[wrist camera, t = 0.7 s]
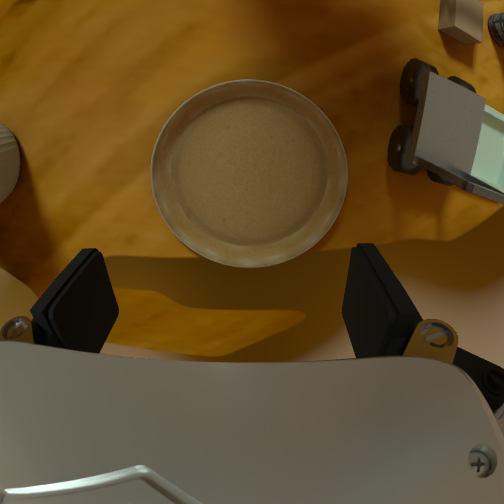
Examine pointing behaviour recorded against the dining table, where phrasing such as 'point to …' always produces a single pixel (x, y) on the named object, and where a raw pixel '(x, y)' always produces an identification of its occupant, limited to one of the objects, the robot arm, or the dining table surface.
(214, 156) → the plant saucer
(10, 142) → the canister
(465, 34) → the block
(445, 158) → the trolley
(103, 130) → the dining table surface
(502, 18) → the supplement bottle
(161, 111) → the dining table surface
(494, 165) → the tray
